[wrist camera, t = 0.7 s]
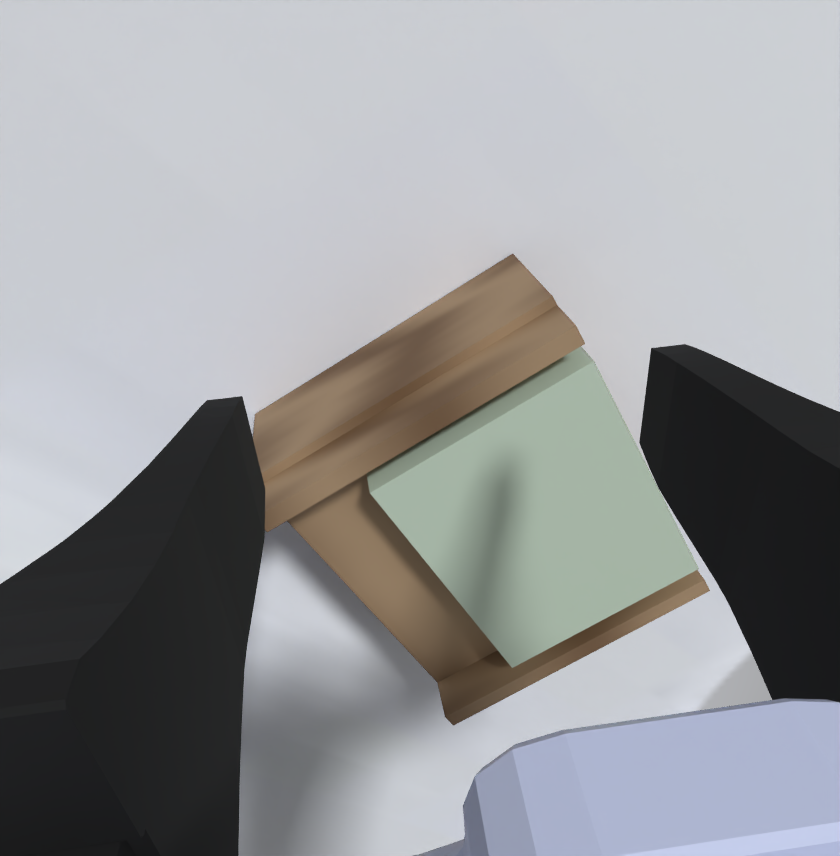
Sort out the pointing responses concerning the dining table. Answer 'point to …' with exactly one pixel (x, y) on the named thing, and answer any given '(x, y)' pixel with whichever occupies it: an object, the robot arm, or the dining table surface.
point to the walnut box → (398, 431)
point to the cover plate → (537, 510)
